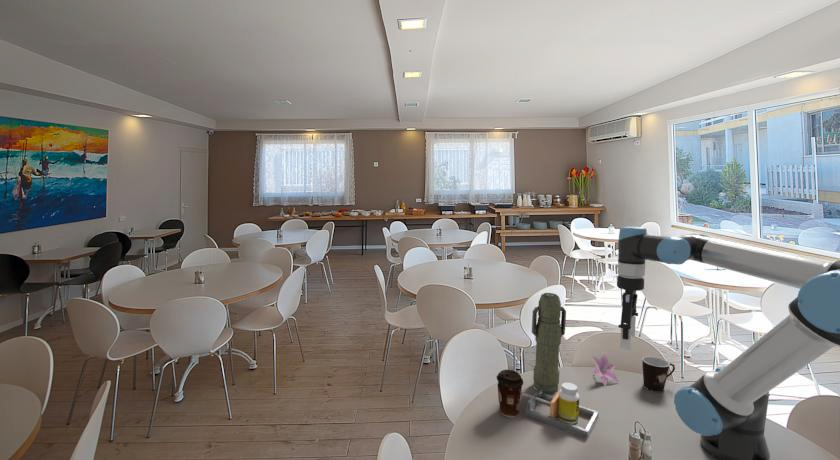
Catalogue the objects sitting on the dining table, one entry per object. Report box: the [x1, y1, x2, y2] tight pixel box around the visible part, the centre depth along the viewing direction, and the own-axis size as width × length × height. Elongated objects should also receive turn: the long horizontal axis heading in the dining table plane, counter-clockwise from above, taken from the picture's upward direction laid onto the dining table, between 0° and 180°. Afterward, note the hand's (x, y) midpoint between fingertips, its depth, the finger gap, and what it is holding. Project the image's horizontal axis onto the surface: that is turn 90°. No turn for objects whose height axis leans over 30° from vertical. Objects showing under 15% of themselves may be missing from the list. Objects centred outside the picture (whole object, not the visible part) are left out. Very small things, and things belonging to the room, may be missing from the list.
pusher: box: [521, 388, 562, 419], centre depth 129 cm, size 13×10×6 cm
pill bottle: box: [557, 382, 580, 425], centre depth 123 cm, size 6×6×11 cm
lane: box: [525, 388, 599, 439], centre depth 125 cm, size 19×13×4 cm
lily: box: [591, 350, 620, 387], centre depth 148 cm, size 12×12×10 cm
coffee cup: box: [496, 369, 524, 419], centre depth 127 cm, size 9×8×13 cm
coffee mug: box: [641, 355, 676, 392], centre depth 143 cm, size 12×9×10 cm
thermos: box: [531, 292, 567, 394], centre depth 141 cm, size 9×12×35 cm
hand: (627, 341), depth 124 cm, fingers open, 13 cm apart
